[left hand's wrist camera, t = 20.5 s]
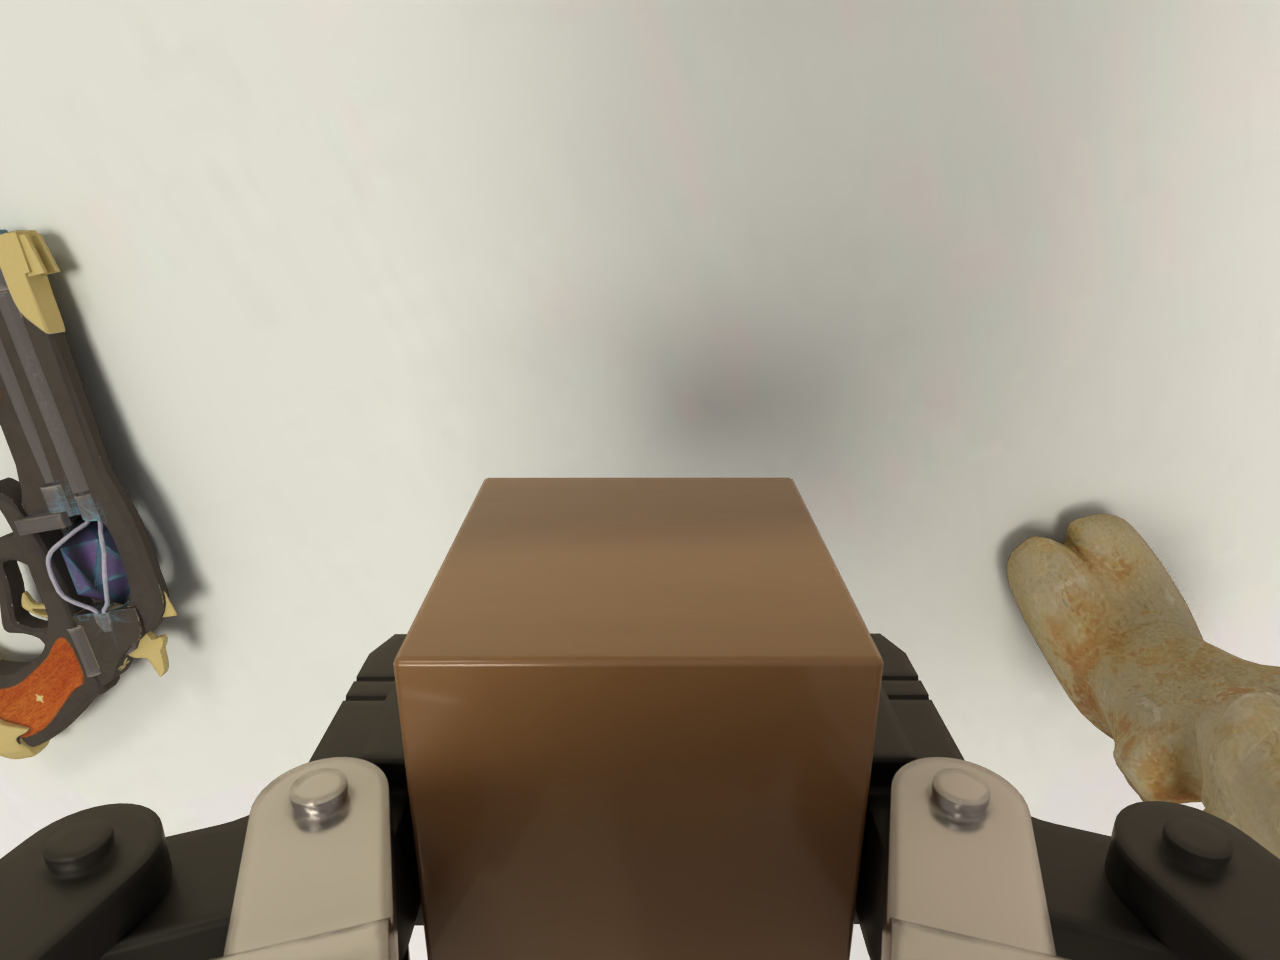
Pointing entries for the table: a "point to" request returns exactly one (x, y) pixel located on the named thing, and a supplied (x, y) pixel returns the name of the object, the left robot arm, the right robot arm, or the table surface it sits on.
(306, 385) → the table surface
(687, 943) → the brown wooden block
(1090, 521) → the sculpture
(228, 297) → the table surface
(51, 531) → the toy gun
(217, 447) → the table surface
